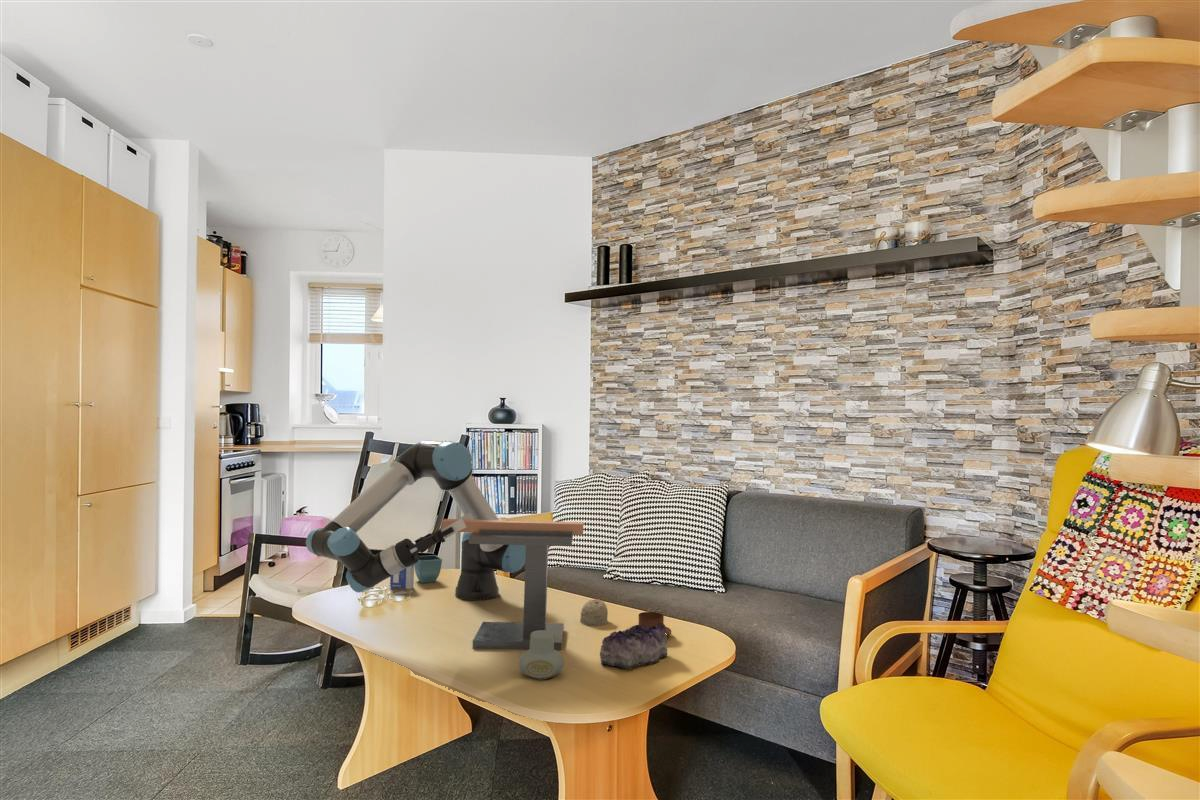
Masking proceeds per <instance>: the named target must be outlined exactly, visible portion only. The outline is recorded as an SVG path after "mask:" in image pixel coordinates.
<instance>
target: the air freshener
mask: <svg viewBox="0 0 1200 800" xmlns="http://www.w3.org/2000/svg"><path fill="white" fill-rule="evenodd" d="M564 660H565V659H564V657H563V655H562V654H561V652H559V650H554V634H553V632H551V631H547V630H537V631H533V632H532V633H531V634H530V649H526V651H524V652H523V653H522V654H521V655H520V657H519V659H518V666H519V668H520V670H521V672H522V673H523V674H525V675H526V676H528V677H530V678H533V679H535V680H546V679H550V678H552V677H554V676H556V675H557V674H559V673H560V672H561V671H562V669H563V668H564V665H565V661H564Z"/></svg>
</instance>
